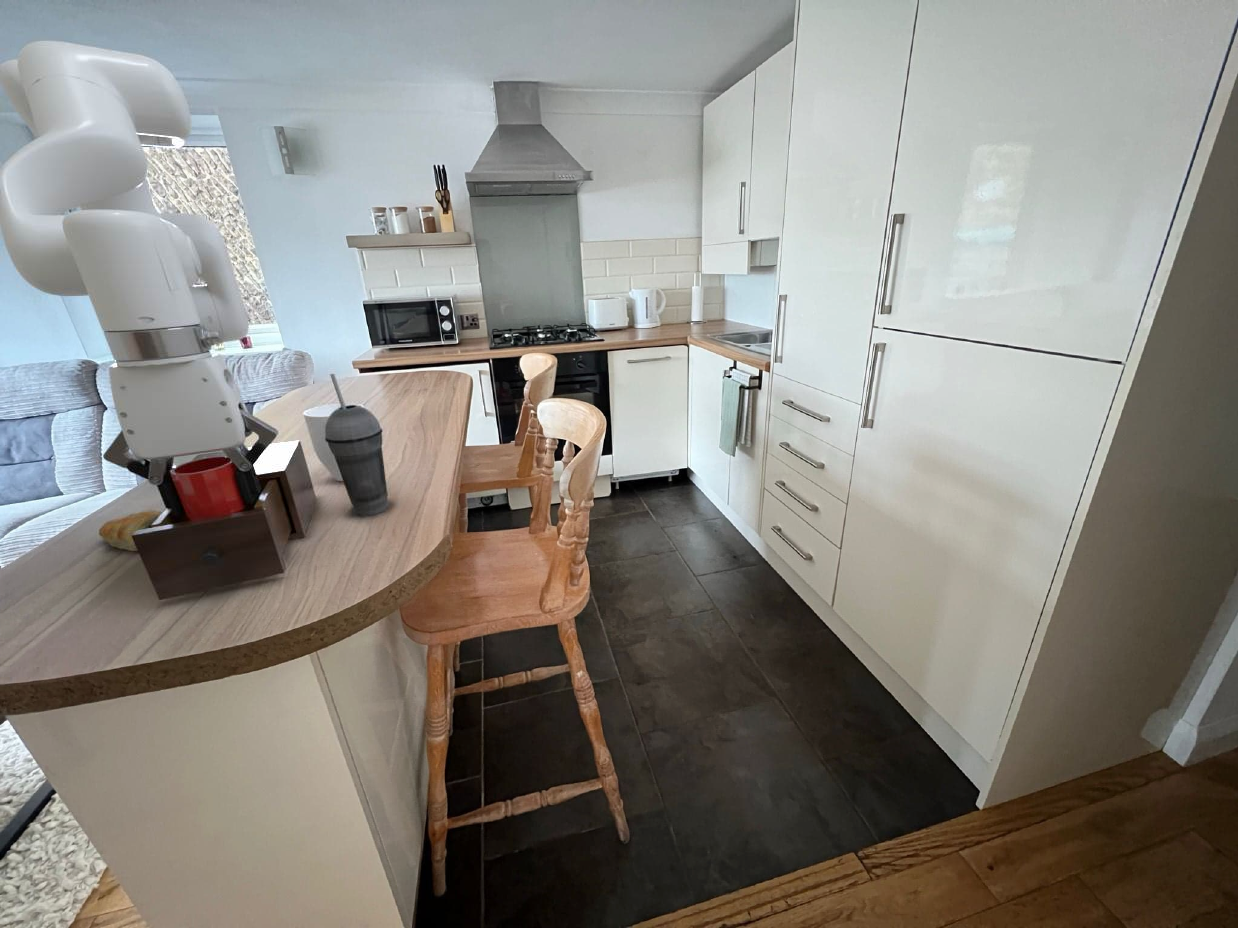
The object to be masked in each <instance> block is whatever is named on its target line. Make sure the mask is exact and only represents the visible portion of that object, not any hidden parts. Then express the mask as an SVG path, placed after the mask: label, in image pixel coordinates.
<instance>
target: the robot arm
mask: <svg viewBox="0 0 1238 928" xmlns="http://www.w3.org/2000/svg"><path fill="white" fill-rule="evenodd" d="M0 85H1V87H2V89H3V91H4V93H5V95H6V97H7V99H8V100H9V102H10V104H11V106H12V107H13V109H14V110H15V112H16V113H17V114H18V116H19V117H20V119H21V120H22V121H23V123H24V124H25V125H26V126H27V127H28V129H29V130H30V131H31V132H32V134H34V136H35V137H36V138H35V139H33V140H32V141H31V142H29V143H27V144H25V145H24V146H23V147H21V148H20V149H19V150H18V151H15V153H13V155H11V156H10V157H9V158H8V159H7V160H6V161H5V162H4V163H3V164H2V165H1V167H0V231H1V234H2V237H3V238H2V239H3V242H4V245H5V248H6V250H7V254H8V255H9V258H10V260H11V262H12V264H13V266H14V268H15V269H16V271H17V272H18V274H19V275H20V276H21V277H22V279H24V280H25V282H27V283H28V284H29V285H30V286H31V287H33V288H35V289H37V290H38V291H40V292H42V293H45V294H48V295H53V296H60V297H87V296H88V297H89V300H90V302H91V305H92V307H93V310H94V313H95V315H96V317H97V320H98V323H99V326H100V327H101V330H102V332H103V335H104V338H105V340H106V342H107V345H108V348H109V350H110V352H111V355H112V357H113V360H114V363H112V364H110V365H108V374H109V382H110V389H111V394H112V400H113V404H114V408H115V412H116V415H117V418H118V422H119V426H120V429H121V430H120V432H119V434H117V436H116V437H115V438H114V440H113V441H112V442H111V444H109V447H108V448H107V449H106V451H105V452H104V453H103V455H102V457H103V459H104V460H105V461H106V462H108V463H111V464H114V465H116V466H119V467H121V468H124V469H126V470H127V471H129V472H130V473H131V474H134V475H137V476H139V477H141V478H143V479H145V480H147V481H148V482H149V484H151V485H153V486H156V487H157V490H158V492H159V495H160V497H161V500H162V502H163V504H164V507H165V509H171V510H172V513H173V515H174V517H175V518H176V517H181V516H182V515H184V514H185V511H184V508H183V506H182V503H181V501H180V498H179V495H178V493H177V490H176V488H175V485H174V483H173V480H172V477H171V475H170V472H169V471H170V470H171V469H173V468H174V467H176V466H179V465H181V464H184V463H187V462H190V461H192V460H193V459H194V458H195V457H196V456H197V455H199V454H206V453H213V452H220V451H223V452H224V453H225V454H226V455H227V456H228V457H229V458H230V459H231V461H232V462H233V463H234V464H235V465H236V466H237V470H238V471H237V472H236V474H235V477H236V480H237V483H238V486H239V489H240V492H241V495H242V498H243V501H244V503H245V504H247V505H250V504H253V503H254V501H255V500H256V498H257V496H258V494H259V493H260V492H261V486H260V483H259V480H258V477H257V474H256V471H255V468H254V464H255V462H256V461H257V460H258V459H259V457H260V456H261V455H262V454H263V452H264V451H265V450H266V449H267V447H268V446H269V445H271V444H273V442H274V440H275V439H276V438H277V437H278V435H279V431H278V429H277V428H275V427H273V426H272V425H270V424H268V423H267V422H265V421H263V420H261V419H259V418H258V417H256V416H254V415H253V414H251V413H249V411H248V408H247V406H246V404H245V401H244V398H243V396H242V394H241V392H240V389H239V387H238V385H237V382H236V380H235V378H234V377H233V374H232V372H231V370H230V368H229V366H228V364H227V362H226V361H225V359H224V357H223V355H222V354H221V353H211V350H212V347H213V346H215V345H219V344H223V343H228V342H235V341H240V340H242V339H244V338H245V337H247V336H248V333H249V329H250V328H249V319H248V315H247V311H246V308H245V305H244V302H243V298H242V294H241V291H240V287H239V284H238V280H237V277H236V274H235V270H234V267H233V263H232V260H231V256H230V253H229V251H228V248H227V245H226V242H225V239H224V237H223V235H222V233H221V231H220V229H219V228H218V227H217V225H216V224H215V223H214V222H213V221H212V220H211V219H209V218H207V217H206V216H203V215H200V214H196V213H187V212H184V213H183V212H182V213H181V212H161V211H160V210H159V209H158V208H157V206H156V203H155V201H154V198H153V195H152V192H151V189H150V185H149V182H148V179H147V176H148V173H149V163H148V159H147V155H146V153H145V151H144V148H143V146H148V147H159V148H171V149H172V148H182V147H184V145H185V144H186V143H187V140H188V139H189V137H190V136H191V132H192V117H191V112H190V107H189V105H188V101H187V98H186V95H185V94H184V91H183V89H182V87H181V85H180V84H179V81H178V80H177V79H176V78H175V76H174V75H173V74H172V72H170V70H169V69H168V68H167V67H165V65H163V63H161V62H159V61H158V60H156V59H154V58H151V57H149V56H146V55H143V54H138V53H132V52H125V51H120V50H113V49H108V48H102V47H97V46H91V45H84V44H79V43H73V42H66V41H61V40H37V41H33V42H30V43H28V44H26V45H25V46H24V47H23V48H21V50H20V51H19V54H18V57H17V58H16V59H9V60H6V61H4V62H2V63H0ZM76 208H80V209H81V210H75V211H72V212H71V211H70V210H73V209H76ZM68 211H70V212H68ZM65 212H68V213H67V214H65V215H64V213H65ZM61 214H62V215H61ZM198 279H201V280H202V281H203V282H204V283H205V284H199V285H197V284H196V283H197V281H198ZM253 433H254V434H256V435H257V436H258V439H257V440H256V441H255V443H254V444H253V445H252V446H251V447H252V448H251V449H250V450H249V449H248V448H249V447H248V446H247V445H246V444H245V442H246V438H248V437H250V436H251V435H252V434H253Z"/></svg>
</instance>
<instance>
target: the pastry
mask: <svg viewBox="0 0 1238 928" xmlns="http://www.w3.org/2000/svg"><path fill="white" fill-rule="evenodd" d="M163 512H164V511H157V510H153V509H152V510H145V511H139V512H133V513H131V514H127V515H125V516H122V517H119V518H114V519H111V520H108V521H107V522H105V523H104V524H103V525H102V526H101V527H100V528H99V530H98V535H99V537H100V538H102V539H103V541H106V542H107V543H109V545H110V546H111V547H113V548H117V549H119V550H126V551H131V552H138V550H137V548H136V546H135V543H134V541H133V539H132V536H131V535H132V534H133V533H134V532H135V531H137V530H142V529H148V528H152V527H151V525H152V524H153V522H154V521H155V520H156V519H157V518H158V517H159V516H160V515H161V514H162V513H163Z"/></svg>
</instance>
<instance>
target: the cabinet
mask: <svg viewBox="0 0 1238 928" xmlns="http://www.w3.org/2000/svg"><path fill="white" fill-rule="evenodd" d="M247 448H248V449H249V450H250V449H251V448H252V446H249V447H247ZM304 453H305V452H304V450H303V446H302V442H301V440H291V441H286V442H278V443H271V444H270V445H269V446H268V447H267V449H266V450H265V451H264V452H263V454H262V455H261V456H260V457H259V459H258V460H257V461H256V462H255V464H254V468H255V471H256V474H257V477H258V480H264V479H270V478H277V477H278V478H279V481H280V484H281V487H282V491H283V494H284V497H285V501H286V504H287V507H288V510H289V514H290V517H291V521H292V524H293V527H292V530H291V532H290V535H289V538H288V541H291V540H296V539H297V540H298V539H301V538H305V537H306V534H307V531H308V528H309V524H310V520H311V517H312V513H313V512H314V511H313V510H314V507H315V504H316V501H317V496H316V493H315V489H314V485H313V482H312V477H311V476H310V475H311V473H310V471H309V468H308V463H307V461H306V456H305V454H304ZM215 456H227V455H226V454H225V453H224V452H223V451H220V452H213V453H206V454H199V455H197V456H196V457H195V458H194V459H193V460H198V459H202V458H208V457H215ZM193 460H192V461H193Z"/></svg>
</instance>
